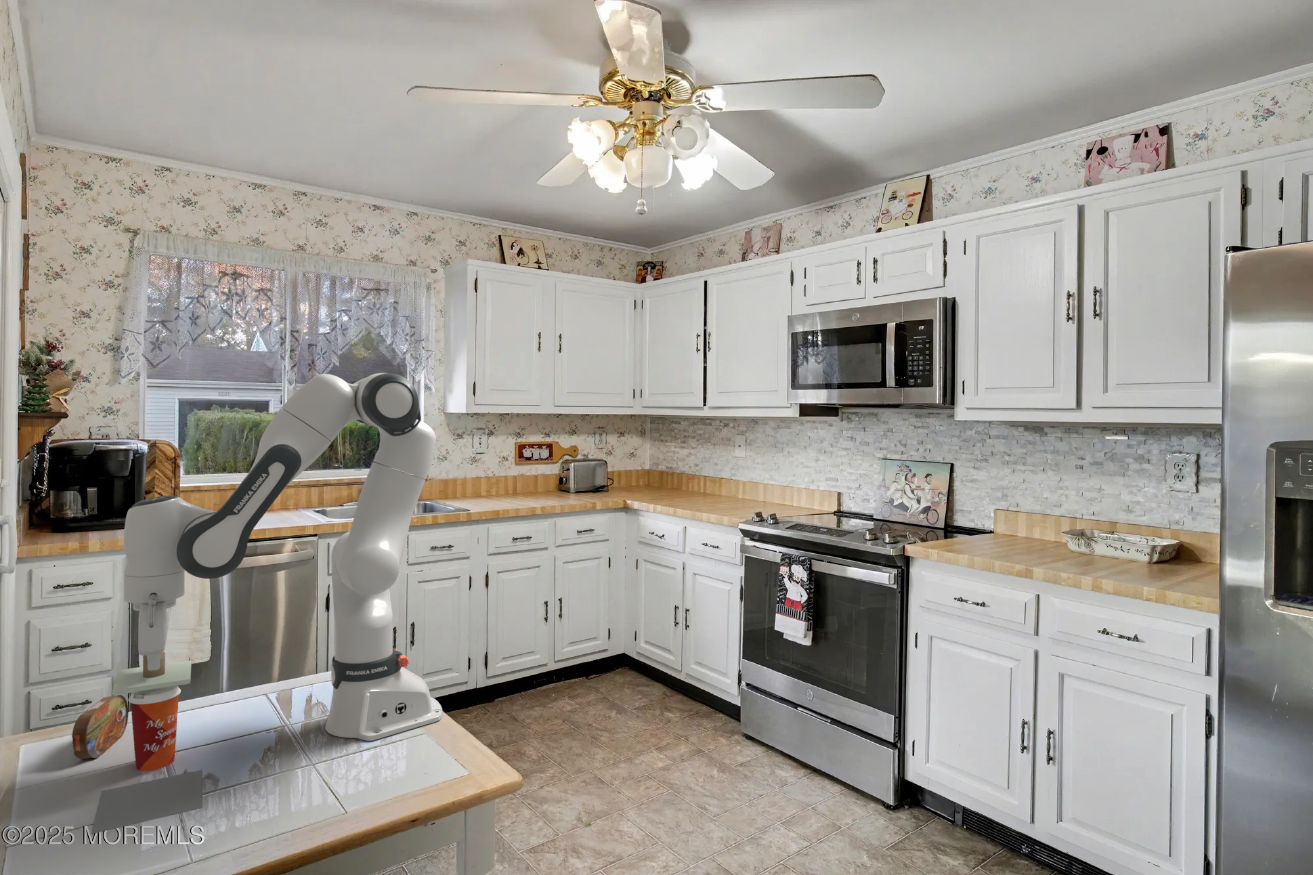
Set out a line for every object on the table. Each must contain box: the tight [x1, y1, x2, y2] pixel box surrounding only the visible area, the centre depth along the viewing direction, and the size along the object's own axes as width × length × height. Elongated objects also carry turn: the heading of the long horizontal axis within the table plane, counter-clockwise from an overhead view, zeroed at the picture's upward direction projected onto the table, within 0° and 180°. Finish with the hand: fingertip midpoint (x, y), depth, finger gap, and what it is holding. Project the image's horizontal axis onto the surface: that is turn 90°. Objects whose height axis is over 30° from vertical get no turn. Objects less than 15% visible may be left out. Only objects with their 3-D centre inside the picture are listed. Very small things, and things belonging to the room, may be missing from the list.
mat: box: [90, 769, 203, 835], centre depth 117 cm, size 14×14×1 cm
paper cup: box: [127, 685, 182, 772], centre depth 129 cm, size 8×8×14 cm
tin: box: [71, 694, 129, 760], centre depth 135 cm, size 15×3×8 cm, turn 13°
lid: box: [111, 651, 192, 696], centre depth 128 cm, size 11×11×4 cm
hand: (154, 664), depth 128 cm, fingers closed on lid, 3 cm apart
